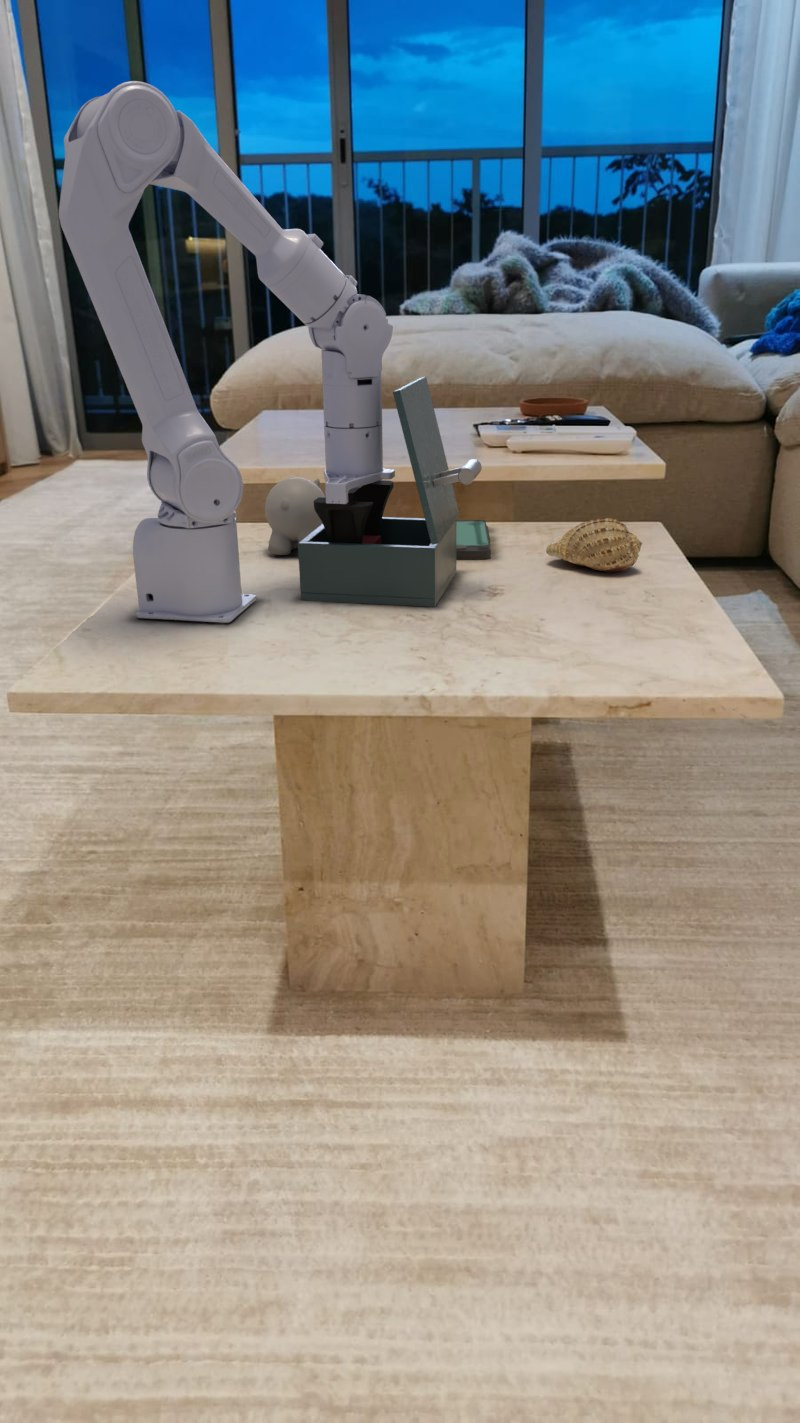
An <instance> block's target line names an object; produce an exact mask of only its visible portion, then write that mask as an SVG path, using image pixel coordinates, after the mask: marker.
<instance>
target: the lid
mask: <svg viewBox="0 0 800 1423" xmlns="http://www.w3.org/2000/svg"><path fill="white" fill-rule="evenodd" d="M392 395H393V398H394V399H393V400H394V404H395V407H396V411H397V415H398V418H399V422H400V427H401V431H402V434H403V438H404V443H405V447H406V450H407V454H408V457H409V458H408V459H409V461H410V467H411V469H412V474H413V477H414V482H415V485H416V489H417V493H418V497H419V501H420V505H421V509H422V512H423V517H424V518H425V521H426V525H427V529H428V532H429V536H430V540H431V544H432V545H433V544H438V543H439V542H440V540H441V539H442V538H443V536H444V535H445V534H446V532H447V531H448V530H449V528H450V527H451V526H452V524H453V523H454V522H455V520H458V518H459V516H460V515H461V514H460V510H459V506H458V503H457V497H456V493H455V490H454V483H458V482H460V483H461V484H462V485H465V486H466V485H470V484H472V483H473V482H474V480H476V478H477V477H478V476H479V474H480V473H481V471H482V464H481V462H480V461H479V460H477V459H475V458H474V459H469V460H468V461H467V462H466V463H465V464H464V465H462V466H458V467H455V468H454V467H453V468H452V469H449V464H448V461H447V457H446V452H445V449H444V444H443V441H442V437H441V432H440V429H439V423H438V420H437V416H436V415H437V414H436V412H435V408H434V403H433V399H432V395H431V391H430V386H429V383H428V379H427V376H422V377H419V378H417V379H415V380H413V381H411V382H410V383H407V384H405V385H403V386H401V387H400V388H398V389H395V390H394V391H392Z"/></svg>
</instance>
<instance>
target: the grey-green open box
mask: <svg viewBox="0 0 800 1423" xmlns="http://www.w3.org/2000/svg"><path fill="white" fill-rule="evenodd" d="M457 520H458V519H456V520H455V522H454V523H453V524H452V526H451V527H450V528H449V530H448V531H447V532H446V534H445V535H444V536H443V538H442V539H441V540H440V542H439V543H438V544H433V545H432V544H431V540H430V536H429V532H428V529H427V525H426V521H425V517H424V518H419V517H395V516H394V517H393V516H392V517H391V516H390V517H389V516H383V517H382V522H381V527H380V533H379V536H381V544H356V543H330V542H329V538H328V535H327V533H326V530H325V528H324V525H323V524H321V525H320V526H319V527H318V528H316V529H315V530H314V531H313V532H311V533H310V534H309V535H308V536H307V537H305V538H304V539H303V540H302V541H300V542H299V543H298V549H297V552H298V553H297V554H298V570H299V571H298V572H299V589H300V590H299V592H300V601H308V602H326V603H346V604H347V603H348V604H365V605H366V604H367V605H368V604H369V605H388V606H389V605H391V606H406V607H407V606H408V607H409V606H410V607H427V608H428V607H430V608H435V607H436V606H437V605H438V603H439V601H440V600H441V598H442V596H443V595H444V593H445V592H446V590H447V589H448V587H449V585H450V584H451V582H452V580H453V579H454V577H455V576H456V574H457V559H456V539H457Z"/></svg>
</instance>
